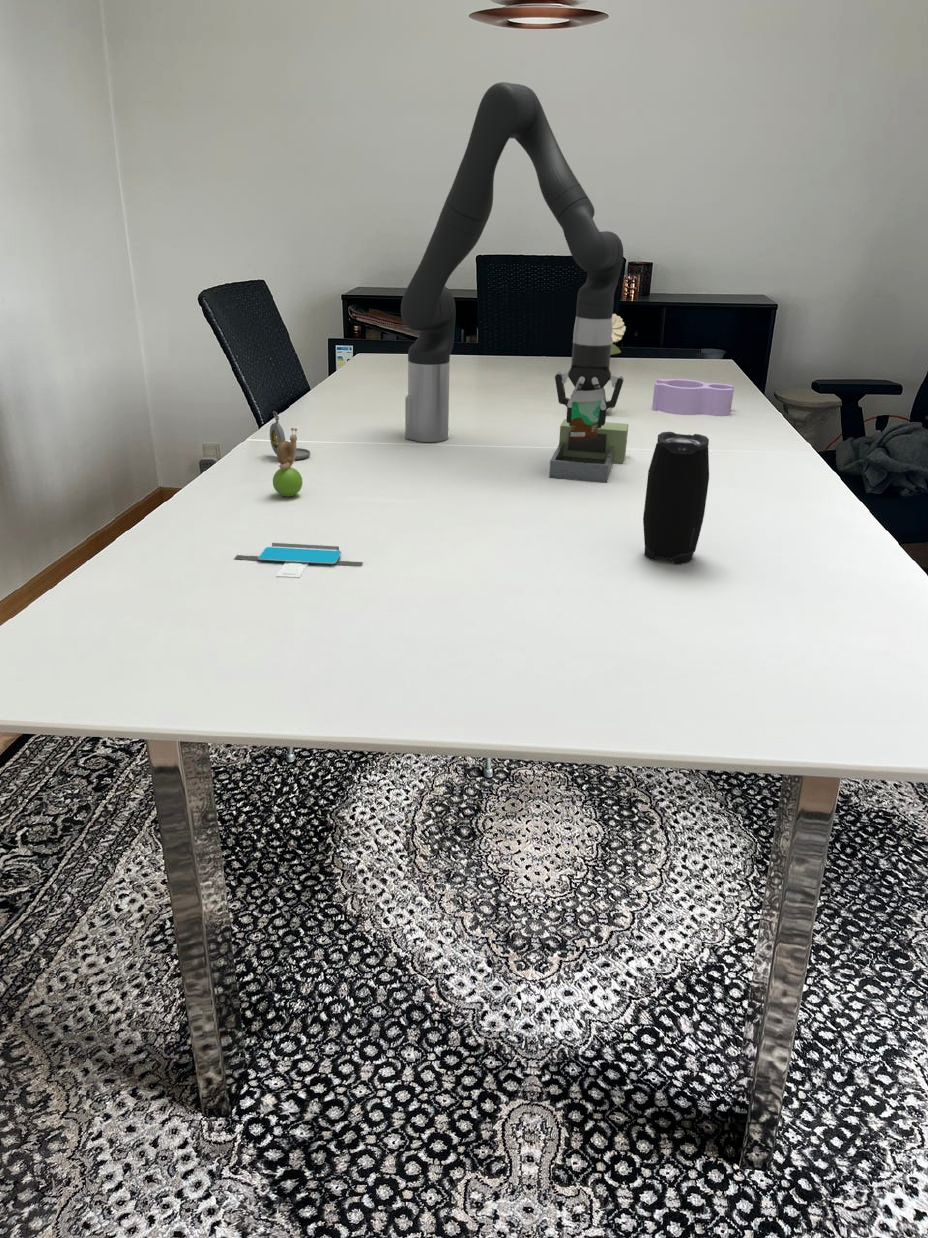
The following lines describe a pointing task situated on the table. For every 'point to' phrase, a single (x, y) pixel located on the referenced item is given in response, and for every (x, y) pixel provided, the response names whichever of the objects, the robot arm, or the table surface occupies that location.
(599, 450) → the pale green rectangular block
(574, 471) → the gray open tray
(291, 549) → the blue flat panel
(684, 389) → the purple double cup holder
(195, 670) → the table surface
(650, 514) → the portable speaker
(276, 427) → the pocket watch
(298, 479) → the snail figurine
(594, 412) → the food container
